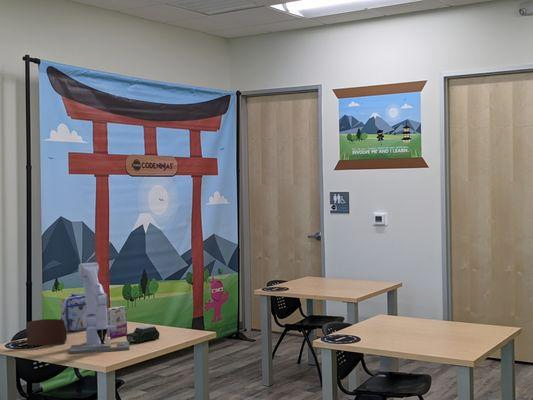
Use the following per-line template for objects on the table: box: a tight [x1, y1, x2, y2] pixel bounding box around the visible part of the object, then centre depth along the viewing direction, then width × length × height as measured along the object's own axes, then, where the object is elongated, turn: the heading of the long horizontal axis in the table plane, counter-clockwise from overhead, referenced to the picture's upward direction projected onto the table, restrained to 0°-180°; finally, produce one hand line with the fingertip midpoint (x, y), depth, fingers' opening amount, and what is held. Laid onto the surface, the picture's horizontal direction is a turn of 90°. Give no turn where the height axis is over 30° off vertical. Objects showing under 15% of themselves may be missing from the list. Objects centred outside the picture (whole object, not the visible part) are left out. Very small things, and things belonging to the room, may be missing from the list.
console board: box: [68, 340, 130, 355], centre depth 371 cm, size 14×30×2 cm, turn 101°
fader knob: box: [104, 336, 111, 346], centre depth 370 cm, size 4×2×4 cm, turn 11°
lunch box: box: [60, 293, 94, 333], centre depth 427 cm, size 28×10×22 cm, turn 133°
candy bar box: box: [105, 305, 128, 339], centre depth 403 cm, size 11×5×16 cm, turn 131°
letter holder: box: [26, 318, 68, 346], centre depth 390 cm, size 10×20×14 cm, turn 100°
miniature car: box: [125, 324, 161, 345], centre depth 389 cm, size 9×18×8 cm, turn 134°
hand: (102, 344), depth 370 cm, fingers closed
